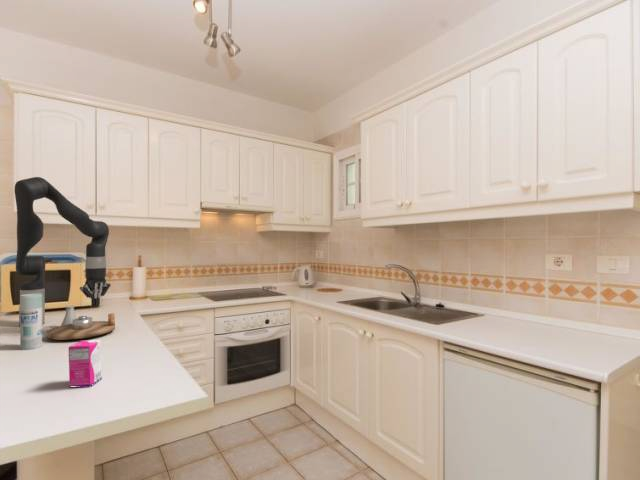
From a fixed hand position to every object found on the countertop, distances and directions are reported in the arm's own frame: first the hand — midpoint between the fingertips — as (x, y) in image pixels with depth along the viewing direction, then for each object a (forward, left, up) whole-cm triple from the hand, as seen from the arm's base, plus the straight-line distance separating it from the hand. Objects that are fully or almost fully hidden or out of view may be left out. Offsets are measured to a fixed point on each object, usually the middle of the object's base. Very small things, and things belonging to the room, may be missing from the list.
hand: (95, 306), depth 149 cm
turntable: (-4, -3, -11) cm, 12 cm away
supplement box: (+47, -39, -12) cm, 62 cm away
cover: (-3, -3, -9) cm, 10 cm away
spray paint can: (-5, -22, -12) cm, 26 cm away
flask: (-22, +4, -12) cm, 25 cm away
